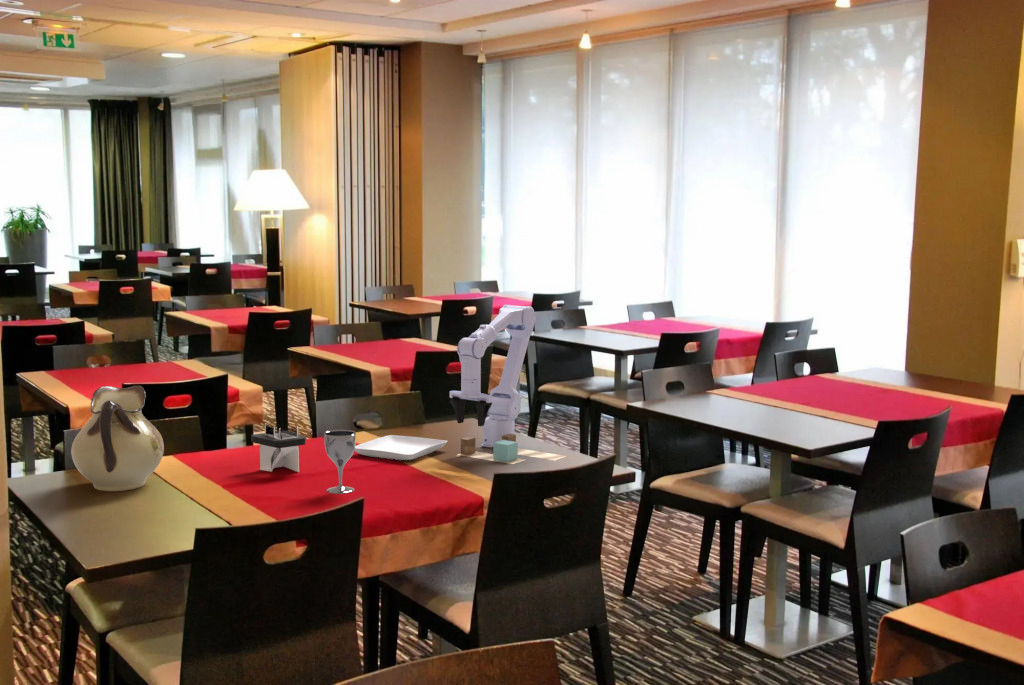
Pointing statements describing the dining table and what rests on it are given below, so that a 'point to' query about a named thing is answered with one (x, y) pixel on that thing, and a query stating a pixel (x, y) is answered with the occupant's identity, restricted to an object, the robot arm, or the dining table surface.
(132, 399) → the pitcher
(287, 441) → the black-topped pedestal
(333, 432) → the wine glass
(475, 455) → the strip
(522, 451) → the empty strip
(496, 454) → the teal block
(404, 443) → the salad plate
